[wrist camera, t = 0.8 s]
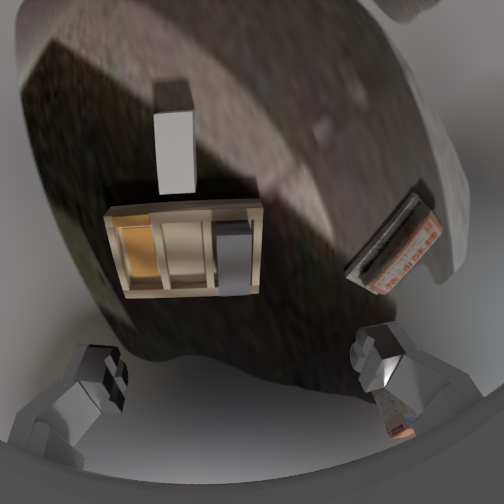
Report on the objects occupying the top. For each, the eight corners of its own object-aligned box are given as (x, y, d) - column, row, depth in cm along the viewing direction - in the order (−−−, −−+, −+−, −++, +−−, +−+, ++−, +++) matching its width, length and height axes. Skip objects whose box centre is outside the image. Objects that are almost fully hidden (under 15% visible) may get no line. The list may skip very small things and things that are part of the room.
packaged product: (429, 201, 33) (452, 233, 37) (410, 188, 37) (436, 219, 41) (352, 290, 40) (385, 308, 44) (341, 271, 44) (373, 291, 48)
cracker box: (364, 377, 67) (389, 439, 50) (381, 365, 65) (409, 428, 48) (383, 384, 73) (406, 438, 56) (398, 374, 71) (423, 427, 54)
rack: (110, 206, 33) (96, 226, 28) (259, 198, 35) (267, 217, 31) (129, 285, 40) (122, 310, 35) (255, 280, 42) (261, 305, 38)
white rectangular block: (160, 111, 28) (153, 114, 24) (195, 109, 28) (192, 111, 25) (165, 183, 33) (159, 194, 29) (196, 181, 33) (195, 192, 30)
